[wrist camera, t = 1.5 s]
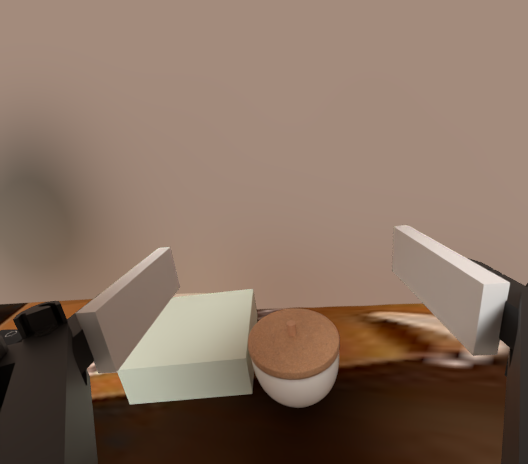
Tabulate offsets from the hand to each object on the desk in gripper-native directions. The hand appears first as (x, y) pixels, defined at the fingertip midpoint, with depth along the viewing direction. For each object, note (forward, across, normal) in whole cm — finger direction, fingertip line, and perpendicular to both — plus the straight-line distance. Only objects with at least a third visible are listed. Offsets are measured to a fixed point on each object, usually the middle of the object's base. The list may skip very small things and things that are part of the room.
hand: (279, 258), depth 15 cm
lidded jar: (+11, 0, -23) cm, 25 cm away
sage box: (+18, -14, -23) cm, 32 cm away
